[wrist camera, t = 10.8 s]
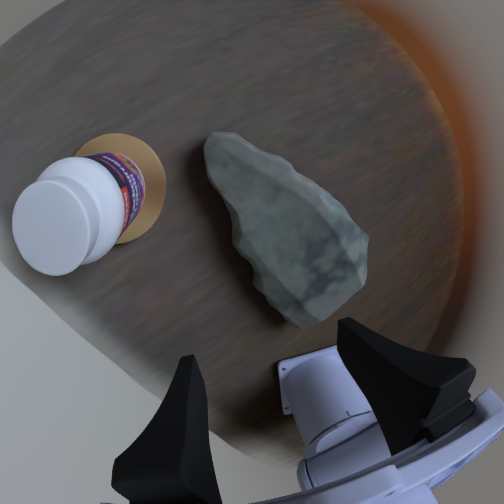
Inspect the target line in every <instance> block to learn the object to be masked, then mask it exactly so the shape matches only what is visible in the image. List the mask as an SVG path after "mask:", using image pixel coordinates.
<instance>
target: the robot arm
mask: <svg viewBox="0 0 504 504" xmlns="http://www.w3.org/2000/svg"><path fill="white" fill-rule="evenodd" d="M277 367H278V375H279V383H280V392H281V400H282V408H283V413H284V414H285V415H288V414H291V413H292V414H293V416H294V419H295V421H296V424H297V427H298V429H299V432H300V434H301V437H302V439H303V442H304V445H305V447H306V448H304V449H303V452H304V455H305V459H302V460H301V461H300V462H299V466H298V468H297V478H298V482H299V485H300V488H301V490H302V492H299V493H294V494H291V495H287V496H283V497H279V498H275V499H270V500H266V501H261V502H255V503H251V504H438V502H437V501H436V499H435V497H434V496H433V494H432V492H431V491H432V490H433V489H435V488H436V487H438V486H439V485H441V484H442V483H443V482H445V481H446V480H448V479H449V478H450V477H452V476H453V475H454V474H456V473H457V472H458V471H459V470H461V469H462V468H463V467H464V466H466V465H467V464H468V463H469V462H471V461H472V460H473V459H474V458H475V457H477V456H478V455H479V454H480V453H481V452H482V451H484V450H485V449H486V448H487V447H488V446H489V445H490V444H491V443H493V442H494V440H495V439H496V438H497V437H498V436H499V435H500V434H501V432H502V431H503V430H504V403H503V402H502V401H501V399H500V398H499V397H498V396H497V395H496V394H495V393H494V392H493V391H492V390H491V389H490V388H488V389H487V390H486V391H484V392H483V393H482V394H480V395H479V396H478V397H477V398H476V399H475V400H474V401H473V402H471V400H470V399H469V398H470V397H471V395H470V394H469V393H468V389H469V387H470V386H471V384H472V382H473V380H474V378H475V375H476V368H475V367H474V366H473V365H472V364H471V363H470V362H469V361H467V359H465V358H451V357H444V356H437V355H433V354H428V353H424V352H421V351H417V350H414V349H411V348H408V347H406V346H403V345H401V344H398V343H396V342H394V341H392V340H389V339H387V338H385V337H383V336H382V335H380V334H378V333H376V332H374V331H372V330H371V329H369V328H367V327H365V326H364V325H362V324H360V323H359V322H357V321H355V320H353V319H352V318H350V317H347V318H344V319H340V320H338V335H337V345H335V346H332V347H329V348H325V349H322V350H319V351H315V352H312V353H309V354H305V355H301V356H298V357H294V358H291V359H287V360H283V361H280V362H279V363H278V364H277ZM282 368H283V369H282ZM111 486H112V488H113V489H114V490H115V491H117V492H118V493H119V494H121V495H122V496H123V497H125V498H127V499H128V500H129V501H130V504H222V500H221V496H220V493H219V488H218V484H217V480H216V475H215V471H214V466H213V461H212V456H211V450H210V445H209V431H208V407H207V396H206V389H205V383H204V380H203V378H202V375H201V372H200V370H199V367H198V364H197V361H196V359H195V356H194V355H188V356H183V357H181V358H180V361H179V364H178V367H177V370H176V372H175V375H174V378H173V380H172V382H171V385H170V387H169V389H168V392H167V394H166V396H165V398H164V400H163V402H162V403H161V405H160V407H159V409H158V410H157V412H156V414H155V415H154V417H153V418H152V420H151V421H150V423H149V424H148V426H147V427H146V428H145V430H144V431H143V432H142V433H141V434H140V435H139V437H138V438H137V439H136V440H135V441H134V442H133V443H132V444H131V445H130V446H129V447H128V448H127V449H126V450H125V451H124V452H123V453H122V454H121V455H119V456H118V457H117V458H116V459H115V461H114V465H113V470H112V480H111ZM100 504H111V503H100Z"/></svg>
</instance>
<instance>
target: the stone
mask: <svg viewBox="0 0 504 504" xmlns="http://www.w3.org/2000/svg"><path fill="white" fill-rule="evenodd" d="M203 152H204V158H205V167H206V174H207V177H208V179H209V181H210V182H211V184H212V186H213V187H214V188H215V190H216V191H217V192H218V193H219V194H220V195H221V197H222V198H223V200H224V203H225V205H226V207H227V209H228V211H229V213H230V217H231V221H232V236H231V240H232V244H233V246H234V247H235V249H236V250H237V252H238V253H239V254H240V255H241V256H242V257H244V258H245V259H246V260H247V261H248V262H249V263H250V264H251V265H252V267H253V273H254V276H253V279H252V283H253V285H254V287H255V288H256V289H257V290H259V291H260V292H262V293H263V294H264V295H265V297H266V300H267V302H268V303H269V304H270V305H271V306H272V307H273V308H275V309H276V310H277V311H278V312H280V313H281V314H282V316H283V317H284V318H285V319H286V321H288V322H289V323H291V324H292V325H293V326H294V327H296V328H299V329H304V328H307V327H309V326H312V325H314V324H317V323H320V322H322V321H323V320H325V319H326V318H327V317H328V316H330V315H331V314H332V313H333V312H335V311H336V310H337V309H338V308H339V307H340V306H341V305H342V304H344V303H345V302H346V301H347V300H348V299H349V298H350V297H351V296H352V295H353V294H355V293H356V292H357V291H359V290H360V289H361V288H362V287H363V286H364V284H365V281H366V276H367V246H368V241H369V236H368V235H367V234H366V233H364V232H363V231H362V230H361V229H360V228H359V227H358V226H357V225H356V224H355V223H354V221H353V220H352V219H351V218H350V216H349V214H348V212H347V210H346V209H345V207H344V206H343V205H342V204H341V203H339V202H338V201H337V200H336V199H334V198H333V197H332V196H331V195H330V193H329V192H328V191H326V190H325V189H323V188H321V187H320V186H318V185H317V184H316V183H315V182H313V181H312V180H310V179H308V178H307V177H305V176H303V175H301V174H299V173H297V172H296V171H295V170H294V168H293V166H292V165H291V164H290V163H289V162H287V161H286V160H285V159H283V158H282V157H281V156H279V155H276V154H272V153H268V152H264V151H262V150H260V149H258V148H257V147H255V146H254V145H252V144H250V143H248V142H247V141H245V140H244V139H243V138H242V137H240V136H239V135H238V134H237V133H235V132H217V131H216V132H211V133H210V134H209V135H208V137H207V139H206V141H205V143H204V146H203Z"/></svg>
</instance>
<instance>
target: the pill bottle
mask: <svg viewBox="0 0 504 504" xmlns="http://www.w3.org/2000/svg"><path fill="white" fill-rule="evenodd" d="M144 198H145V183H144V179H143V176H142V173H141V171H140V170H139V168H138V167H137V165H136V164H135V163H134V162H133V161H132V160H131V159H129V158H128V157H126V156H124V155H121V154H118V153H108V152H106V153H98V154H90V155H83V156H74V157H69V158H65V159H61V160H59V161H57V162H55V163H53V164H51V165H50V166H49V167H47V168H46V169H45V170H44V171H43V172H42V174H41V175H40V176H39V177H38V179H37V180H36V182H35V183H33V184H31V185H30V186H28V187H27V188H26V189H25V190H24V191H23V192H22V193H21V195H20V196H19V198H18V200H17V202H16V204H15V206H14V210H13V215H12V231H13V237H14V241H15V244H16V246H17V248H18V250H19V252H20V254H21V256H22V257H23V258H24V260H25V261H26V262H27V263H28V264H29V265H30V266H31V267H32V268H34V269H35V270H37V271H39V272H40V273H43V274H46V275H50V276H62V275H65V274H68V273H70V272H72V271H73V270H75V269H76V268H77V267H78V266H79V265H85V264H89V263H92V262H94V261H97V260H98V259H100V258H101V257H103V256H104V255H105V254H106V253H107V252H108V251H109V250H110V249H111V248H112V247H113V246H114V244H115V243H116V242H117V240H118V239H119V238H120V236H121V235H122V233H123V232H124V231H125V230H126V228H127V227H128V226H129V225H130V223H131V222H132V221H133V220H134V219H135V217H136V216H137V214H138V213H139V211H140V209H141V207H142V205H143V202H144Z"/></svg>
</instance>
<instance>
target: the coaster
mask: <svg viewBox="0 0 504 504" xmlns="http://www.w3.org/2000/svg"><path fill="white" fill-rule="evenodd" d="M106 152H108V153H118V154H121V155H124V156H126V157H128V158H129V159H131V160H132V161H133V162H134V163H135V164H136V165H137V167H138V168H139V170H140V171H141V173H142V176H143V179H144V183H145V198H144V202H143V205H142V207H141V209H140V211H139V213H138V214H137V216H136V217H135V219H134V220H133V221H132V222H131V223H130V225H129V226H128V227H127V228H126V230H125V231H124V232H123V233H122V235H121V236H120V238H119V239H118V240H117V242H116V243H115V244H121V243H126V242H130V241H132V240H135V239H137V238H139V237H140V236H142V235H143V234H145V233H146V232H147V231H148V230H149V229H150V228H151V227H152V226H153V225H154V223H155V222H156V220H157V219H158V217H159V215H160V213H161V211H162V209H163V206H164V203H165V199H166V193H167V181H166V174H165V171H164V168H163V165H162V163H161V161H160V159H159V157H158V156H157V154H156V153H155V152H154V150H153V149H152V148H151V147H150V146H149V145H147V144H146V143H145V142H143V141H142V140H140V139H138V138H136V137H133V136H130V135H126V134H115V133H114V134H106V135H102V136H99V137H96V138H94V139H92V140H90V141H89V142H87V143H86V144H85V145H83V146H82V147H81V148H80V149H79V150H78V151H77V152H76V154H75V155H74V156H83V155H90V154H98V153H106ZM74 156H73V157H74Z"/></svg>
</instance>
